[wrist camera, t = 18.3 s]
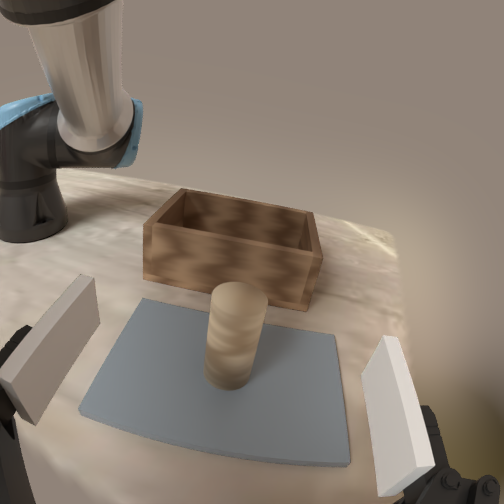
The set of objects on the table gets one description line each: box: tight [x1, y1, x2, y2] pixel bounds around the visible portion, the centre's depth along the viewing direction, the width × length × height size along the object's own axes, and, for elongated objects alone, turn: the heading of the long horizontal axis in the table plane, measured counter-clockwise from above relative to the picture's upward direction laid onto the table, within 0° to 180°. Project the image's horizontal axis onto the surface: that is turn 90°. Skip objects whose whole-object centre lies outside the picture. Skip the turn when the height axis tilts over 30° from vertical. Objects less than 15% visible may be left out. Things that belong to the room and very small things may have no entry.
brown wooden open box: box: [143, 188, 323, 312], centre depth 47 cm, size 22×16×8 cm
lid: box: [78, 282, 351, 467], centre depth 28 cm, size 23×17×10 cm
